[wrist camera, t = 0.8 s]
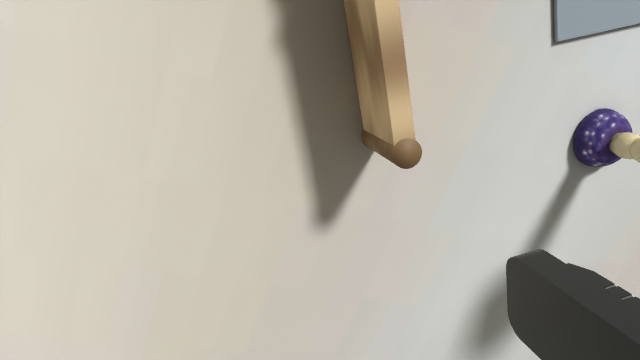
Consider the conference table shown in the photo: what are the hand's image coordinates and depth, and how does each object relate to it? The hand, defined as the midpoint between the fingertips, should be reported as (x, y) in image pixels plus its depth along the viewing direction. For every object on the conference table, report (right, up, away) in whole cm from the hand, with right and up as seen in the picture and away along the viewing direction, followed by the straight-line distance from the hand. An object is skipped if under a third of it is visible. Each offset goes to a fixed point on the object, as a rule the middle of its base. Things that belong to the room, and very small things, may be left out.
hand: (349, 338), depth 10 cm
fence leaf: (+2, +12, +17) cm, 21 cm away
